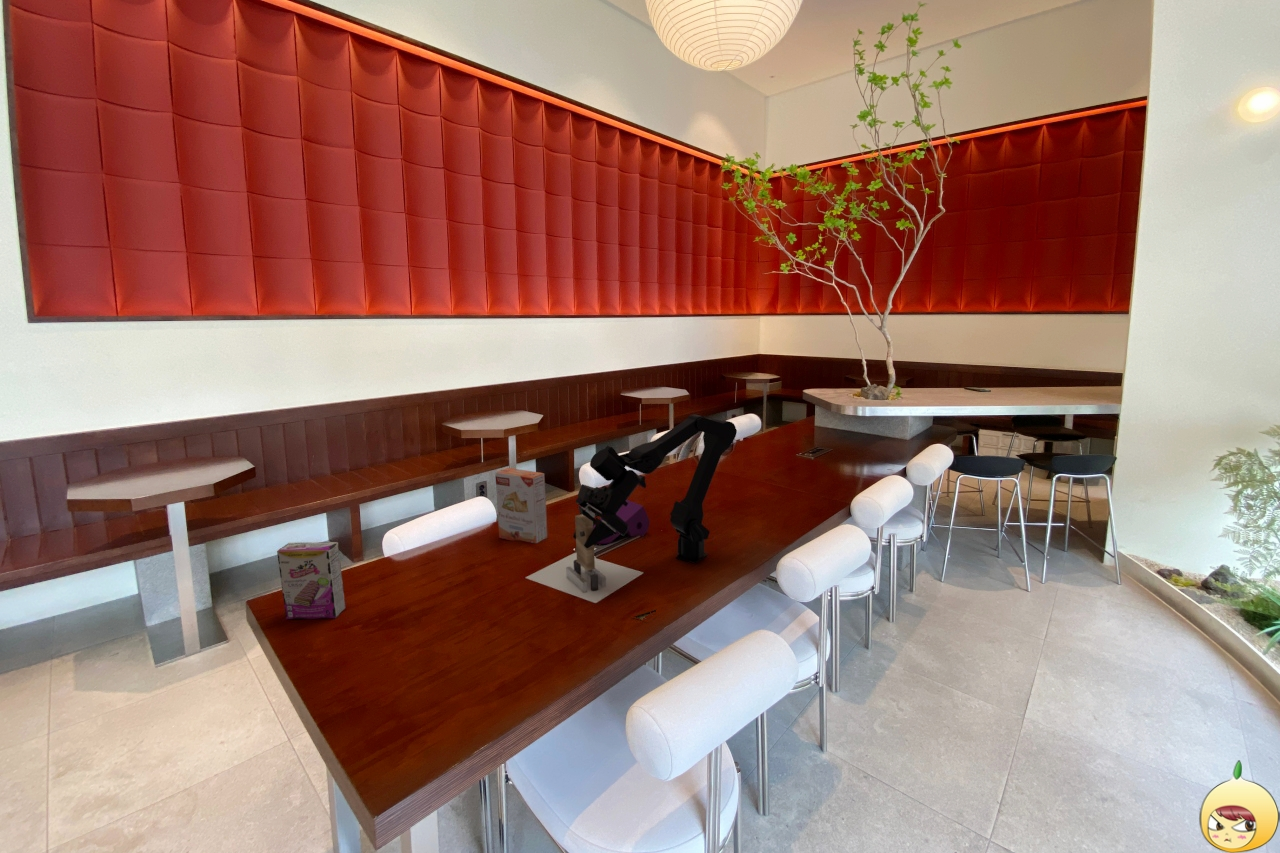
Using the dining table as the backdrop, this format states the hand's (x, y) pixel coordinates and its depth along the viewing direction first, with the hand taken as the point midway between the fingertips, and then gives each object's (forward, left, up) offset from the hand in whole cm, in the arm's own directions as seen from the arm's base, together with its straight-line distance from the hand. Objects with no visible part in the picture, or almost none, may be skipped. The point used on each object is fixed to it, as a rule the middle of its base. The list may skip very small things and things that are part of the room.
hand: (579, 542), depth 140 cm
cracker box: (+35, -13, -12) cm, 39 cm away
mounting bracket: (+13, -30, -12) cm, 35 cm away
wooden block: (-1, -1, -6) cm, 6 cm away
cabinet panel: (+2, -4, -11) cm, 12 cm away
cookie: (-18, -1, -12) cm, 21 cm away
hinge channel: (0, -1, -10) cm, 10 cm away
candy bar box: (+41, +44, -12) cm, 61 cm away
